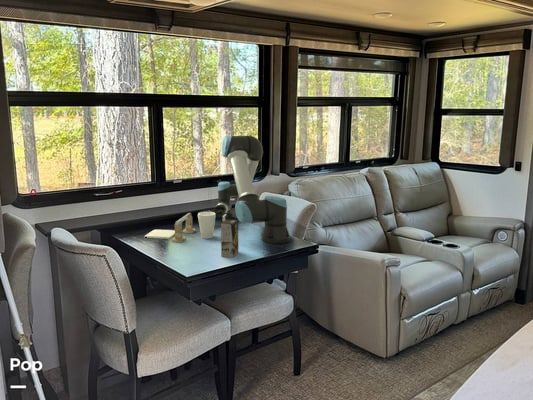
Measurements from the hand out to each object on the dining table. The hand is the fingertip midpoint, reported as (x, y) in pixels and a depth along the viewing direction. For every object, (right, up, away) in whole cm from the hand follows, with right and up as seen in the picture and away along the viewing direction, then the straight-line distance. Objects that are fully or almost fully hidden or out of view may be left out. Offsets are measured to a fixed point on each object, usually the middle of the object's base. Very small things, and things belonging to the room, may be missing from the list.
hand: (211, 218), depth 257 cm
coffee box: (+14, -16, -38) cm, 43 cm away
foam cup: (-1, -10, -8) cm, 13 cm away
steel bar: (-14, -1, -8) cm, 16 cm away
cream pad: (-27, -9, -5) cm, 29 cm away
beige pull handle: (-14, -9, -6) cm, 18 cm away
